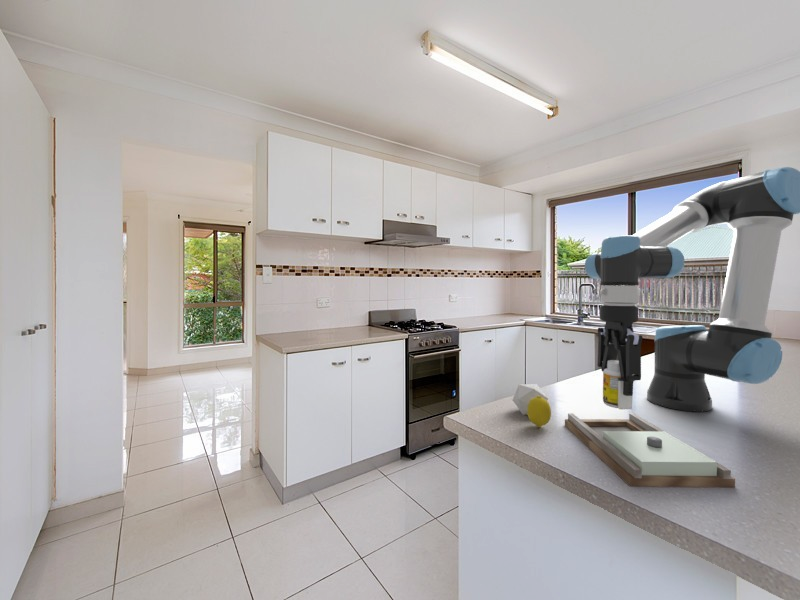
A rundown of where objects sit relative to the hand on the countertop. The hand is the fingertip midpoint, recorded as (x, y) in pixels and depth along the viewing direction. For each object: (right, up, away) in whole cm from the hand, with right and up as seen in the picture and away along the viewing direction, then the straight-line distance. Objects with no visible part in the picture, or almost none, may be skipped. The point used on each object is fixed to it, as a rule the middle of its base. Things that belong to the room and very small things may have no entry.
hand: (616, 403), depth 81 cm
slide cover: (0, -7, -12) cm, 14 cm away
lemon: (-16, -8, +7) cm, 19 cm away
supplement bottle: (0, -1, 0) cm, 1 cm away
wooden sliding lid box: (0, -8, -6) cm, 10 cm away
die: (-14, -8, +16) cm, 23 cm away
